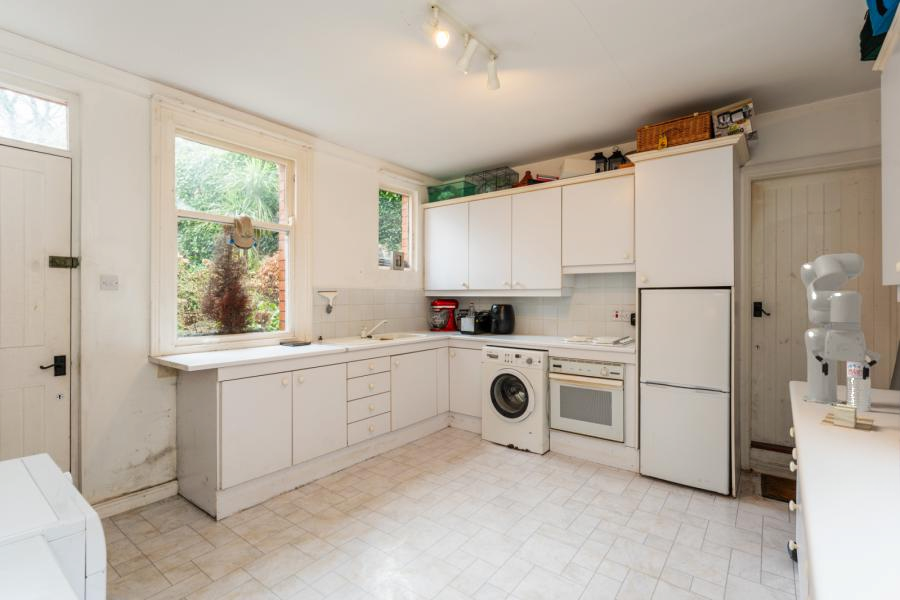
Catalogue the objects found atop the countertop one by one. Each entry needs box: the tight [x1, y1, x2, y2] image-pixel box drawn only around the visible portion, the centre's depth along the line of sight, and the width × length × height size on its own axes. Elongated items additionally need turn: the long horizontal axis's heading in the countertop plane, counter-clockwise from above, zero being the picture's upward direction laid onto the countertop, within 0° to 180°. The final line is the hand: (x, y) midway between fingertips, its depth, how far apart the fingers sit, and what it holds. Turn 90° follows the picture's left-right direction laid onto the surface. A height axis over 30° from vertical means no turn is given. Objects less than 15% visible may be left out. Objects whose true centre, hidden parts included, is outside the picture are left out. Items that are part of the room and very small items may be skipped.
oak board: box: [820, 411, 875, 433], centre depth 147 cm, size 22×12×1 cm, turn 132°
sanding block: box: [833, 403, 858, 429], centre depth 143 cm, size 8×5×6 cm, turn 132°
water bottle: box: [845, 354, 872, 412], centre depth 163 cm, size 7×7×25 cm
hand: (845, 377), depth 144 cm, fingers open, 9 cm apart
